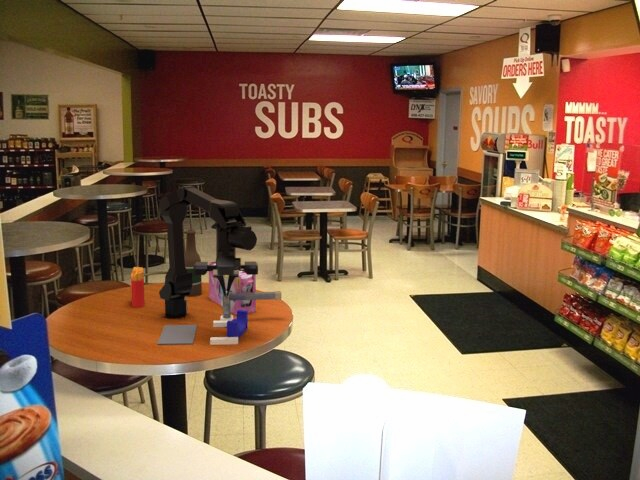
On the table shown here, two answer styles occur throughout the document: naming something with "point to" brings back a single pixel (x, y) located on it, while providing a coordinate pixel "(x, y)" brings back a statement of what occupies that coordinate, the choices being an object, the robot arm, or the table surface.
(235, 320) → the cable clip
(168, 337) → the mat
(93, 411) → the table surface
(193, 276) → the beer bottle
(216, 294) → the gum box
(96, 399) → the table surface
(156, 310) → the table surface
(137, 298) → the french fries
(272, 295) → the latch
